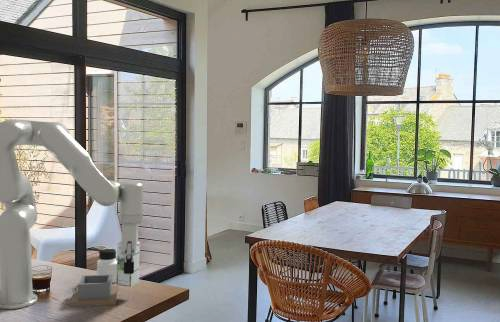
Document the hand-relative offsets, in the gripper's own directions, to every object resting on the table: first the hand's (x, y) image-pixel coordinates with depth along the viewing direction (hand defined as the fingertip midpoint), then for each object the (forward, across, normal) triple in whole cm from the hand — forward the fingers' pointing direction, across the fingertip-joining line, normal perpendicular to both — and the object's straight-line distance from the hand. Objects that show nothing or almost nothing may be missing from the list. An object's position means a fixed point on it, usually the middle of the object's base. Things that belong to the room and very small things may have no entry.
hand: (129, 269), depth 169 cm
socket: (+10, -1, -11) cm, 15 cm away
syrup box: (+5, 0, 0) cm, 5 cm away
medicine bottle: (+10, -20, -9) cm, 24 cm away
